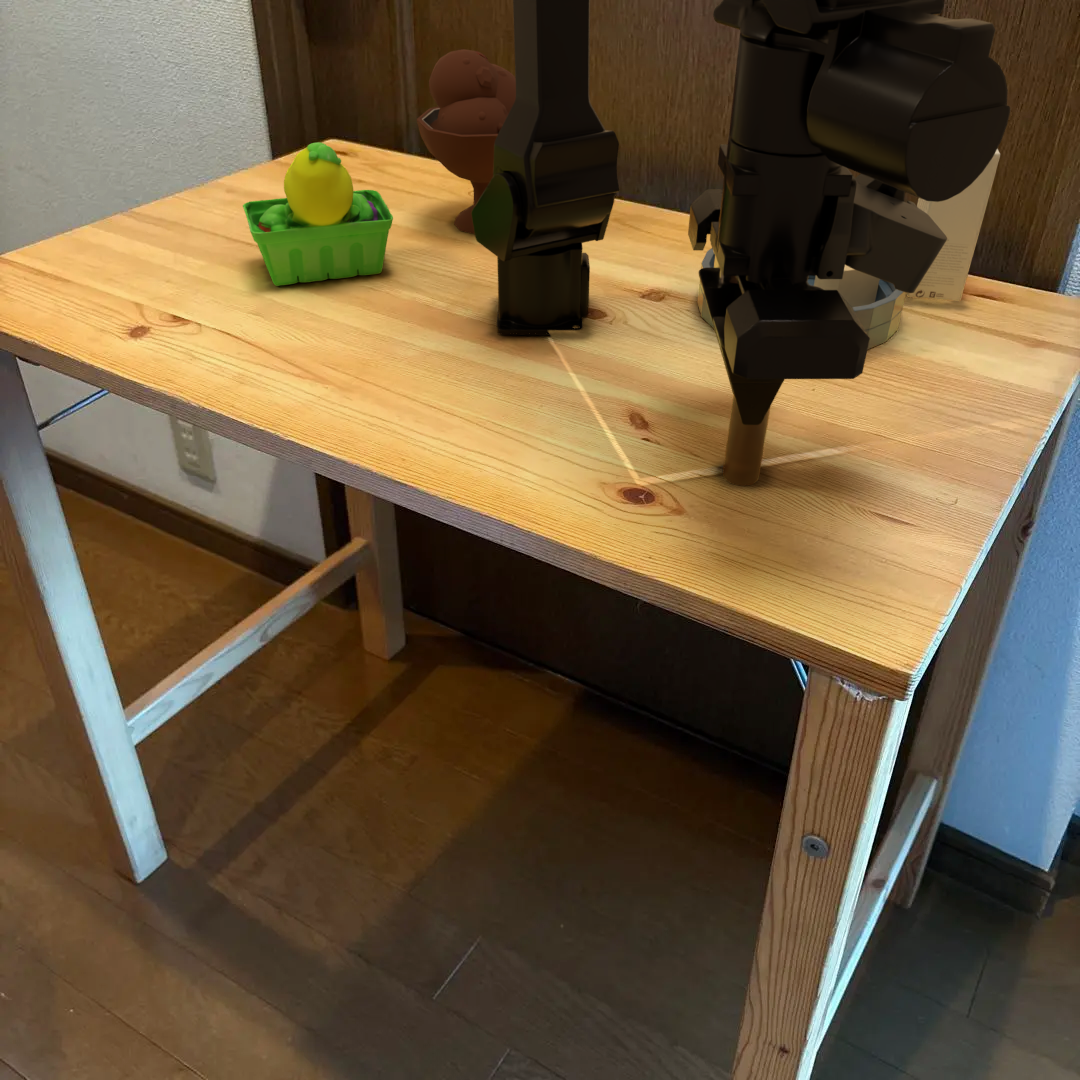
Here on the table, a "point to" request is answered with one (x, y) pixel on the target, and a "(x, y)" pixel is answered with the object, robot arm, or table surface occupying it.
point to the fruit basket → (320, 223)
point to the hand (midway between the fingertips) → (747, 412)
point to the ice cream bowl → (467, 118)
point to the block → (852, 286)
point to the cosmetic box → (956, 236)
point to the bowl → (874, 317)
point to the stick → (744, 449)
